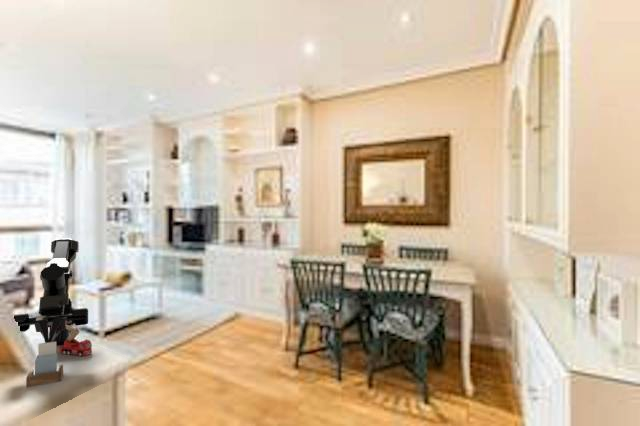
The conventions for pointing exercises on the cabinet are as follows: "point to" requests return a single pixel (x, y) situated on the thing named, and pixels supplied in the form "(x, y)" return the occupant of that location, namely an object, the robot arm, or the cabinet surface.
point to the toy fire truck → (75, 344)
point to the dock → (43, 377)
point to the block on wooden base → (46, 358)
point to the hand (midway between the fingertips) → (47, 346)
